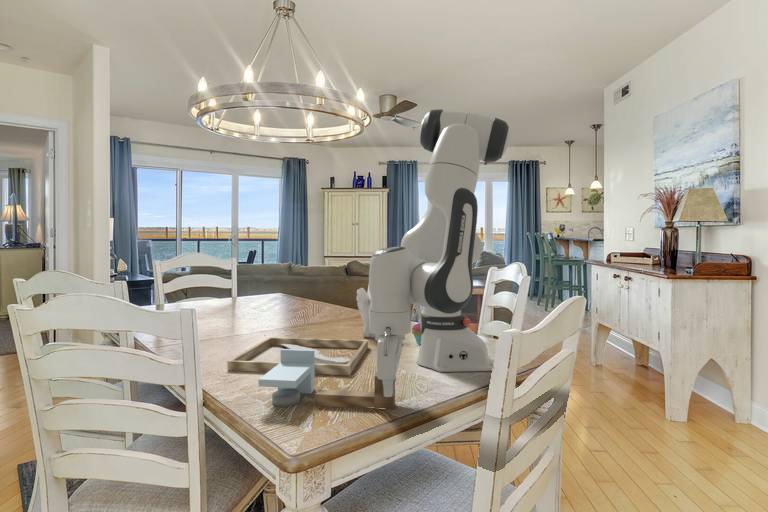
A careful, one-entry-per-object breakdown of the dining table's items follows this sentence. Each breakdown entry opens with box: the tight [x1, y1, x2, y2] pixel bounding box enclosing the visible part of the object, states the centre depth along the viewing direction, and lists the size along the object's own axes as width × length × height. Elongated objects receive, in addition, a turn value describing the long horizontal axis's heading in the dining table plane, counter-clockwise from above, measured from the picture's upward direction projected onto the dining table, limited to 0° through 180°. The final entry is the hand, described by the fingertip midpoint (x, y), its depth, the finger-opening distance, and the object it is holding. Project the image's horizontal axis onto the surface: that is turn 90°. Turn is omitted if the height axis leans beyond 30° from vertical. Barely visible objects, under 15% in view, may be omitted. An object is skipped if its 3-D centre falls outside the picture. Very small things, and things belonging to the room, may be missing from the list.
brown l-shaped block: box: [314, 371, 396, 410], centre depth 97 cm, size 17×4×7 cm, turn 83°
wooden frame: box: [226, 336, 369, 376], centre depth 135 cm, size 34×30×2 cm
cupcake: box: [411, 307, 422, 345], centre depth 154 cm, size 9×8×12 cm
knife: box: [279, 344, 351, 365], centre depth 137 cm, size 37×8×2 cm, turn 38°
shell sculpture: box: [356, 287, 375, 338], centre depth 164 cm, size 8×8×18 cm
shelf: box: [258, 348, 316, 395], centre depth 100 cm, size 8×14×10 cm, turn 173°
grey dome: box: [271, 389, 301, 408], centre depth 99 cm, size 6×6×2 cm
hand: (390, 388), depth 95 cm, fingers open, 8 cm apart
